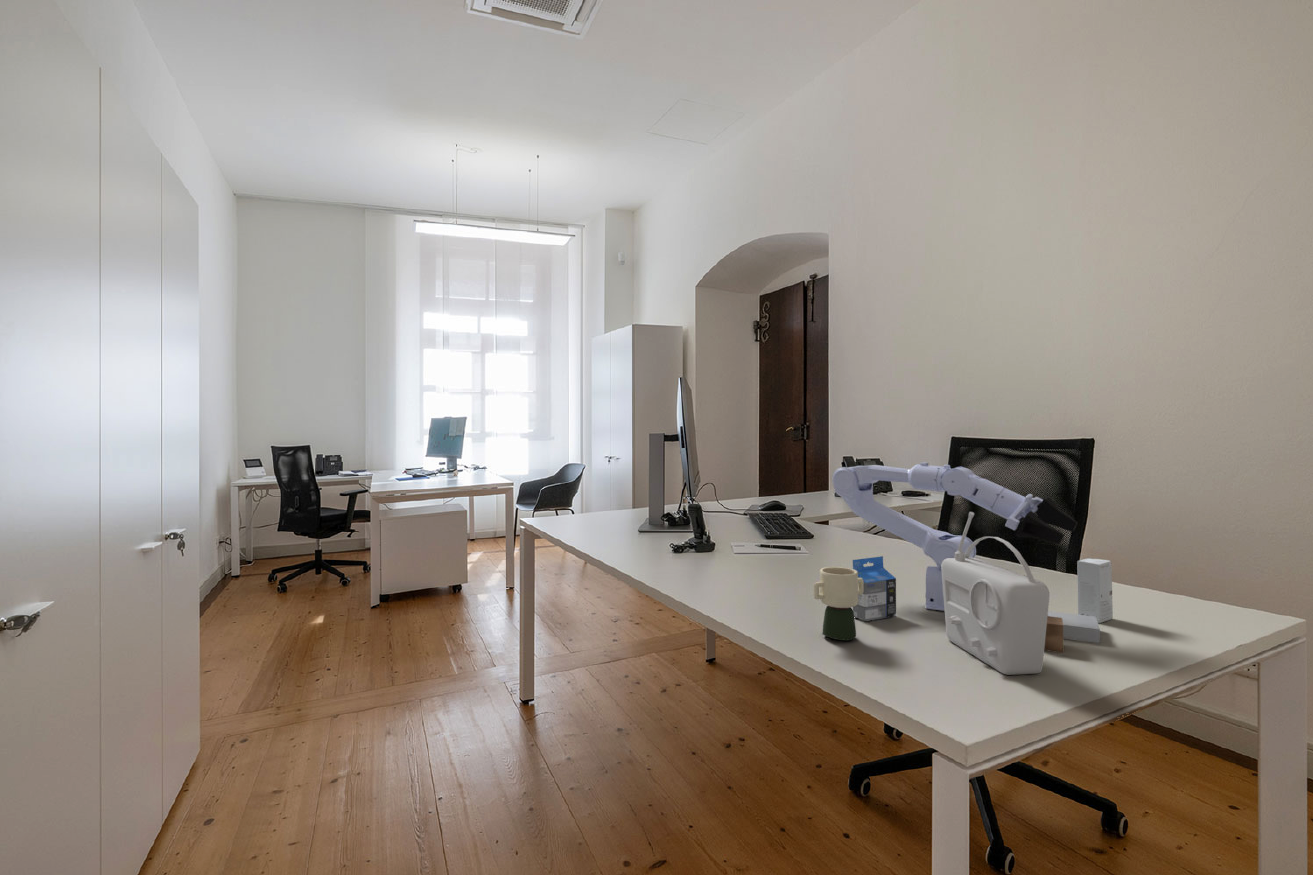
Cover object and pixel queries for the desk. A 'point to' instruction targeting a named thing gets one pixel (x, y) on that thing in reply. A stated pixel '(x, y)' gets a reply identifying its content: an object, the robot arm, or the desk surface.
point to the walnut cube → (1054, 634)
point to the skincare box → (1095, 589)
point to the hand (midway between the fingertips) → (1068, 533)
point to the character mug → (839, 600)
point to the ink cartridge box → (875, 590)
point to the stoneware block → (1079, 627)
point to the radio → (995, 610)
